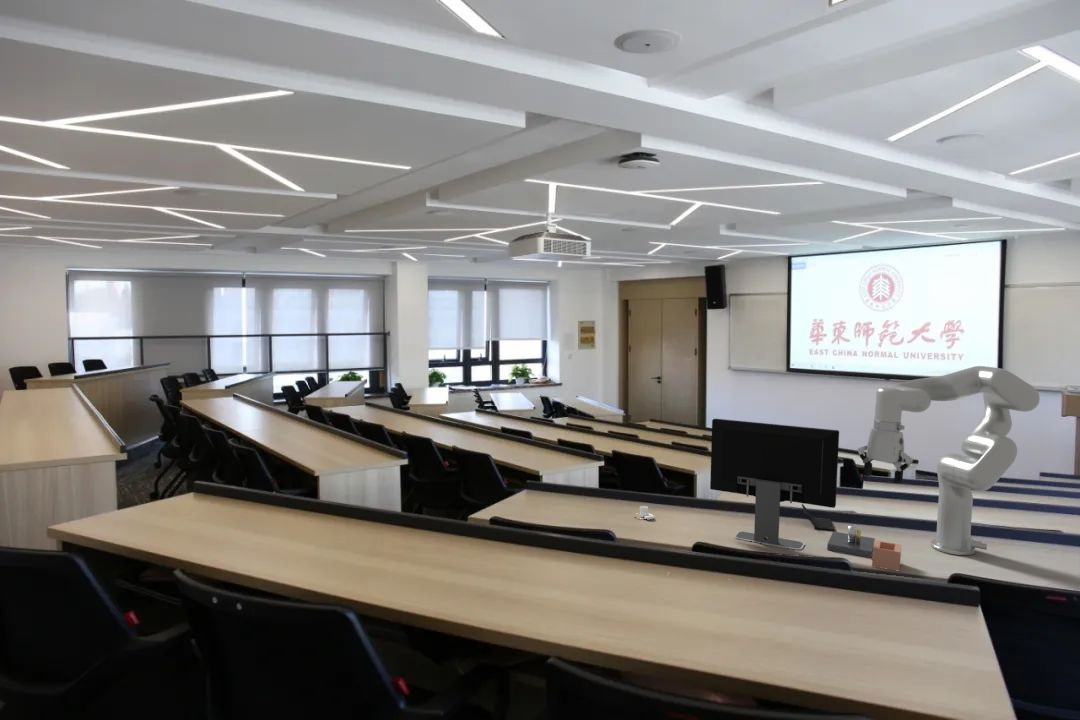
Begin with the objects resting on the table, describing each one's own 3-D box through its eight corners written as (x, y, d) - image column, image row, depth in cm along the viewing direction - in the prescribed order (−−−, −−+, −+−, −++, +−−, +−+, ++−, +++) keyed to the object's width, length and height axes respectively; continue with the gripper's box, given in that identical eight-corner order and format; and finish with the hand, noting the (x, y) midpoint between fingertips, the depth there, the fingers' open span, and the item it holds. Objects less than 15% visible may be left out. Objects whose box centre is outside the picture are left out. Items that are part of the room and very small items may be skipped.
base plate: (874, 544, 224) (875, 523, 223) (871, 557, 212) (872, 536, 211) (832, 536, 231) (833, 517, 230) (827, 549, 219) (828, 529, 218)
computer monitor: (834, 548, 220) (840, 429, 216) (831, 556, 213) (836, 433, 209) (712, 526, 241) (715, 417, 237) (705, 533, 233) (708, 421, 230)
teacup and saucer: (656, 521, 246) (656, 511, 246) (634, 521, 247) (635, 510, 246) (652, 514, 255) (653, 504, 255) (632, 514, 255) (632, 503, 255)
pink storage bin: (873, 558, 211) (874, 540, 211) (900, 563, 208) (901, 544, 207) (872, 566, 205) (873, 547, 204) (899, 571, 201) (900, 552, 201)
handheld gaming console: (841, 527, 236) (821, 501, 237) (823, 540, 236) (803, 514, 238) (830, 520, 249) (811, 496, 250) (813, 533, 249) (794, 508, 250)
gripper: (920, 430, 206) (916, 484, 208) (866, 421, 221) (862, 471, 222) (908, 432, 202) (903, 487, 204) (854, 422, 216) (850, 474, 218)
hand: (882, 479), depth 213 cm, fingers open, 9 cm apart
